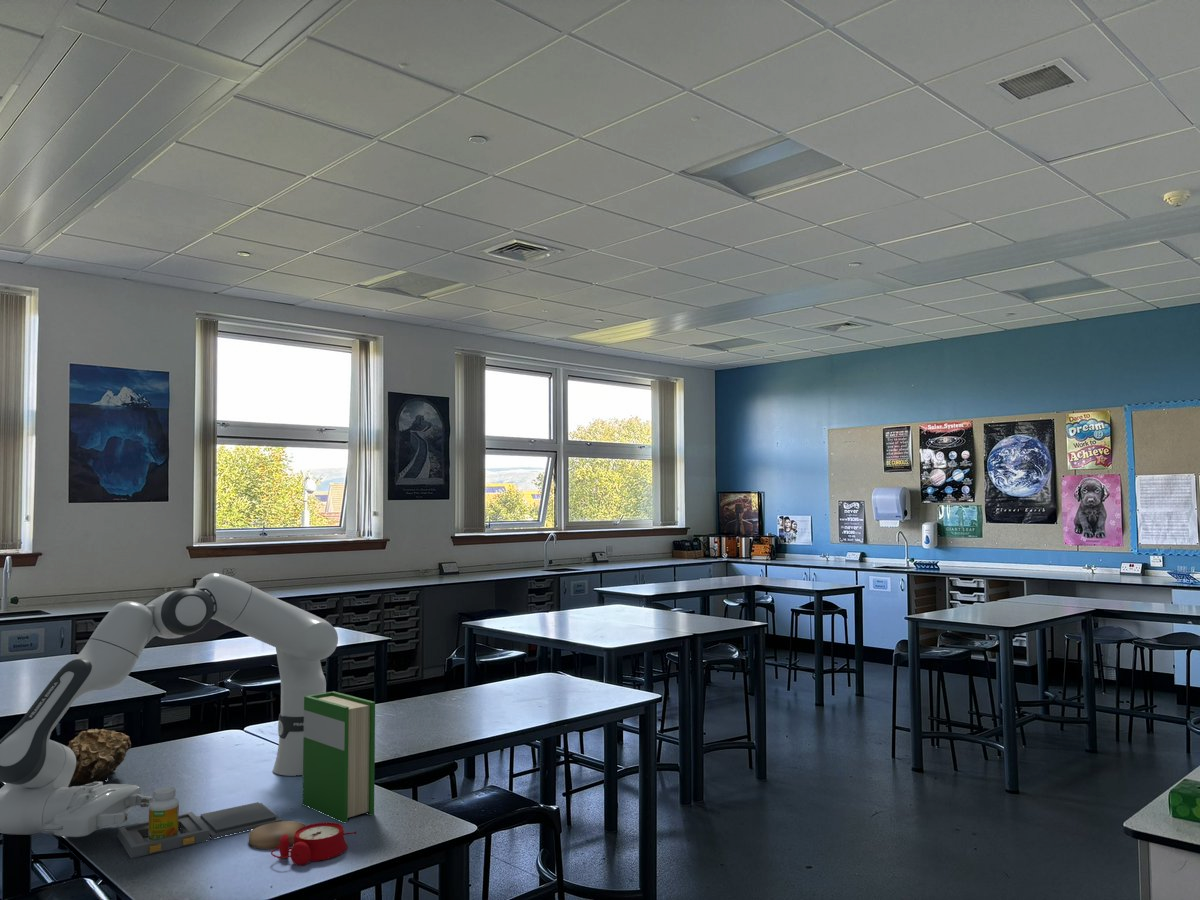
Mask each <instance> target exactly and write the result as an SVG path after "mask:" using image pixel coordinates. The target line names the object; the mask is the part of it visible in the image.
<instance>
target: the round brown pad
mask: <svg viewBox="0 0 1200 900" xmlns="http://www.w3.org/2000/svg"><path fill="white" fill-rule="evenodd" d="M305 826H307V824H305V823H304V822H301V821H294V820H284V821H283V820H282V821H281V822H274V823H269V824H265V825H262V826H259V827H257V828H255V829H253V830H252V831H249V832H248V845H249V844H250V845H251V846H250V845H249V846H250V847H252V848H254V847H255V849H259V848H260V849H259V850H274V849H273V848H276V847H277V846H279V842H280V838H281V837H282V836H283V835H285V834H287V835H288V840H289V847H290V845H291V846H293V844H294V835H295V832H296V831H297V830H298V829H300V828H302V827H305Z"/></svg>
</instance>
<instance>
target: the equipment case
mask: <svg viewBox="0 0 1200 900" xmlns="http://www.w3.org/2000/svg"><path fill="white" fill-rule="evenodd" d="M281 821H283V819H282V818H281V817H280V816H279V815H277V814H276V813H275V812H274V811H272V810H271V809H270V808H269V807H267V806H266V805H264V804H263V803H262V802H258V801H256V802H252V803H248V804H244V805H243V804H242V805H239V806H233V807H229V808H224V809H219V810H214V811H210V812H205V813H201V814H200V815H197V816H196V814H195V813H194V812H193V811H188V812H184V813H179V817H178V828H181V829H180V830H181V832H182V831H183V832H184V833H183V832H182V833H178V835H174V836H169V837H165V838H160V839H156V840H151V841H149V840H148V841H146V840H145V839H144V837H146V836H145V835H148V833H149V820H146V821H141V822H137V823H132V824H127V825H122V826H118V827H117V838H118V840H119V841H120V843H121V844H122V846H123V848H124V849H125V850H126V852H127V853H128V855H129V856H130V858H131V859H134V858H140V857H143V856H147V855H148V856H149V855H151V854H156V853H161V852H164V851H169V850H174V849H177V848H183V847H186V846H187V847H188V846H191V845H195V844H194V843H196V844H199V843H198V842H200V843H203V842H202V841H204V842H207V841H206V840H209V841H210V839H211V838H212V839H213V840H215V839H214V838H217V837H221V836H225V835H230V834H234V833H239V832H243V831H247V830H251V829H255V828H257V827H259V826H262V825H265V824H269V823H274V822H281ZM243 833H244V832H243ZM239 834H240V833H239ZM142 836H144V837H142ZM209 836H210V837H211V838H210V837H209ZM230 836H231V835H230ZM212 839H211V840H212ZM217 839H218V838H217ZM190 844H191V845H190Z"/></svg>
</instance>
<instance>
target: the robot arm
mask: <svg viewBox="0 0 1200 900" xmlns="http://www.w3.org/2000/svg"><path fill="white" fill-rule="evenodd" d="M210 620H214V621H218V622H219V623H221V624H223V625H224V626H227V627H230V628H232V629H233V630H236V631H238V632H240V633H242V634H245V635H247V636H248V637H251V638H252V639H255V640H257V641H260V642H262V643H264V644H267V645H269V646H271V647H274V648H275V652H276V660H277V665H278V666H277V667H278V672H279V678H280V713H279V714H278V722H277V725H278V726H277V732H278V737H279V738H278V747H277V751H276V758H275V762H274V766H273V768H272V772H273V773H274V774H276V775H281V776H287V777H288V776H290V777H291V776H292V777H295V776H296V775H303V740H304V696H310V695H315V694H321V693H327V681H326V676H325V675H324V671H323V669H322V663H321V660H325V659H327V658H329V657H330V656H332V654H334V652H335V651H336V649H337V646H338V644H339V635H338V632H337V630H336V627H334V626H333V625H332V624H331V623H330V622H329V621H327V620H326V619H324V618H322V617H320V616H317V615H316V614H313V613H311V612H309V611H307V610H305V609H302V608H299V607H298V606H296V605H293V604H291V603H289V602H286V601H284V600H282V599H279V598H277V597H275V596H273V595H271V594H269V593H268V592H265V591H263V590H261V589H259V588H257V587H256V586H253V585H251V584H249V583H247V582H245V581H242V580H240V579H237V578H235V577H233V576H229V575H226V574H222V573H218V572H211V573H208V574H206V575H204V576H203V577H202V578H201V579H200V580H198V582H197V583H196V585H195V586H194V587H192V588H191V587H190V588H182V589H181V588H180V589H176V590H172V591H168V592H166V593H163V594H162V595H158V596H156V597H154V598H152V599H150V600H149V601H147V602H146V603H144V604H143V603H140V602H137V601H131V600H130V601H129V600H128V601H122V602H118V603H117V604H114V606H113V607H112V608H111V609H110V610H109V612H107V614H106V615H105V616H104V617H103V618H102V620H101V621H100V623H99V624H98V625H97V627H96V628H95V630H94V631H93V632H92V634H91V636H90V637H89V639H88V640H87V642H86V644H85V645H84V646H83V648H82V649H81V650H80V652H78V654H77V656H75V658H73V659H72V660H71V661H68V662H67V663H66V664H64V665H63V666H62V667H61V668H60V669H59V671H58V672H57V673H56V674H55V675H54V676H53V677H52V679H51V680H50V681H49V683H48V684H47V685H46V687H45V688H44V689H43V691H42V692H41V693H40V695H38V697H37V699H36V700H35V701H34V703H33V704H32V705H31V706H30V707H29V709H28V710H27V711H26V713H25V714H24V716H23V717H22V718H21V719H20V720H19V722H18V723H17V724H16V725H15V726H14V727H13V728H12V729H11V730H9V731H8V732H7V733H6V734H5V735H4V736H3V737H2V738H0V783H3V784H4V785H3V786H2V787H1V788H0V833H1V834H5V835H20V836H21V835H33V834H37V833H43V834H45V835H46V834H47V835H55V836H56V837H65V838H66V837H68V838H81V837H86V836H90V835H91V834H92V833H94V832H95V831H97V830H99V829H100V828H103V827H108V826H112V825H121V824H124V823H125V822H127V821H128V816H129V815H128V813H127V811H128V810H131V809H132V808H133V807H136V806H138V807H139V806H140V808H148V807H149V806H150V804H151V803H152V802H153V801H154V797H153V796H152V795H149V796H148V795H144V794H141V787H140V786H138V785H136V784H125V783H124V784H123V783H108V784H107V783H106V784H104V782H100V781H99V782H93V783H89V784H86V785H82V786H79V785H78V786H73V787H71V786H70V785H71V784H70V782H71V780H72V777H73V775H74V772H75V770H76V766H77V759H76V755H75V753H74V752H73V750H72V749H70V748H69V747H67V745H65V744H62V743H60V742H58V741H55V740H52V739H50V738H51V735H52V732H53V730H55V728H56V726H57V725H58V724H59V722H60V721H61V719H62V718H63V717H64V715H65V714H66V713H67V711H68V710H69V709H70V707H71V706H72V705H73V704H74V703H75V701H76V700H77V699H78V698H80V697H81V696H82V695H84V694H86V693H88V692H93V691H100V690H101V691H103V690H108V689H111V688H115V686H119V685H120V684H122V683H123V682H124V681H125V679H126V678H127V677H128V676H129V675H130V674H131V672H132V670H133V669H134V667H135V665H136V664H137V662H138V660H139V658H140V657H141V655H142V653H143V650H145V646H147V644H149V642H150V641H151V640H152V639H157V640H158V639H159V640H168V639H181V638H184V637H185V636H189V635H190V636H191V635H193V634H195V633H197V632H198V631H200V630H201V629H203V628H204V626H205V625H206V624H207V623H208V622H209V621H210ZM69 786H70V787H69Z"/></svg>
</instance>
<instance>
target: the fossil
mask: <svg viewBox="0 0 1200 900" xmlns="http://www.w3.org/2000/svg"><path fill="white" fill-rule="evenodd" d="M66 747H69V748H70V749H72V750H73V752H74V753H75V755H76V759H77V766H76V770H75V772H74V775H73V777H72V780H71V782H70V784H69V785H70V787H73V786H82V785H86V784H89V783H93V782H101V781H102V782H103V783H107V782H106V781H105V780H107V777H108V778H109V776H110V775H111V774H112V773H114V771H116V770H117V769H118V767H119V766H120V765H121V764H122V762H124V760H125V758H126V756H127V753H128V751H129V750H130V749H131V747H132V743H131V740H130V736H129V735H126V733H123V732H119V731H118V732H117V731H115V730H107V729H104V728H102V729H98V728H95V729H94V728H91V729H87V730H81V731H80V732H79V733H78V735H77V736H75V737H74V738H73V739H72V740H69V741H68V745H66Z"/></svg>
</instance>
